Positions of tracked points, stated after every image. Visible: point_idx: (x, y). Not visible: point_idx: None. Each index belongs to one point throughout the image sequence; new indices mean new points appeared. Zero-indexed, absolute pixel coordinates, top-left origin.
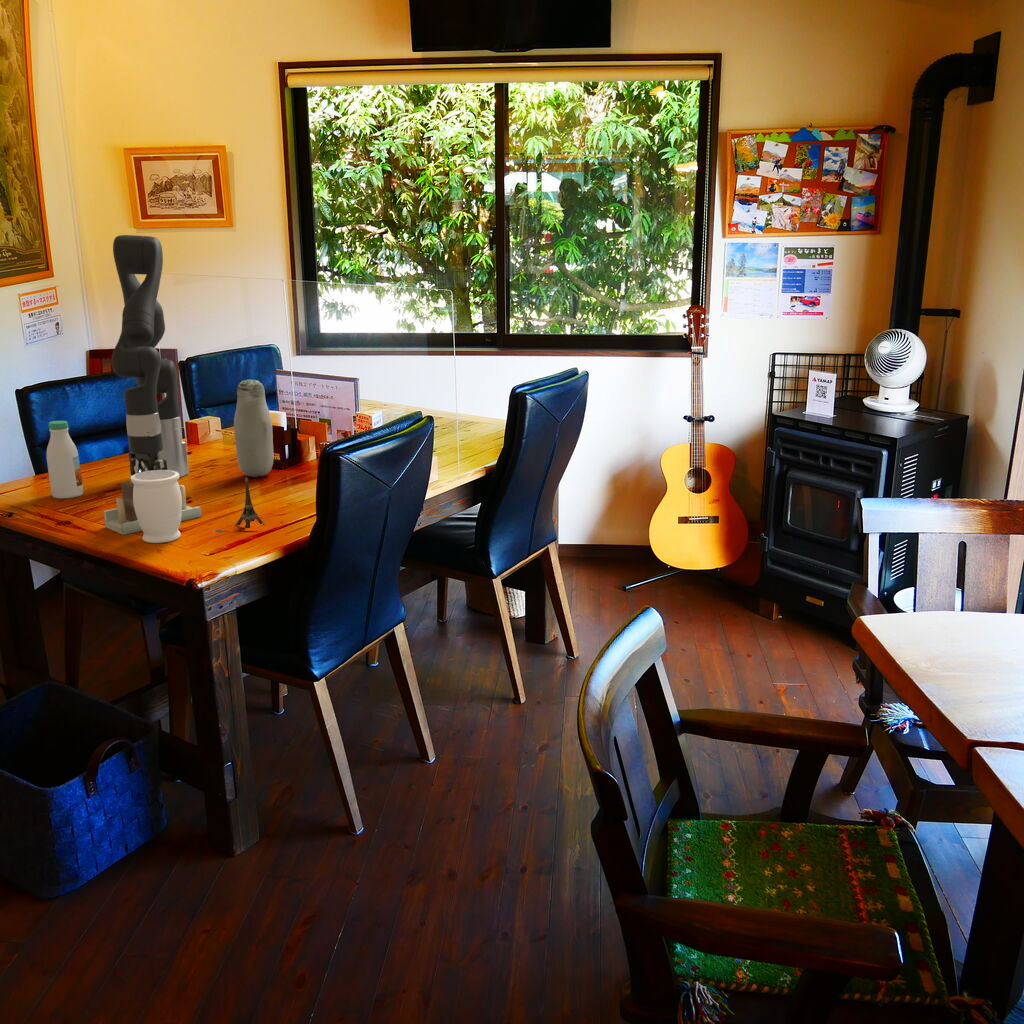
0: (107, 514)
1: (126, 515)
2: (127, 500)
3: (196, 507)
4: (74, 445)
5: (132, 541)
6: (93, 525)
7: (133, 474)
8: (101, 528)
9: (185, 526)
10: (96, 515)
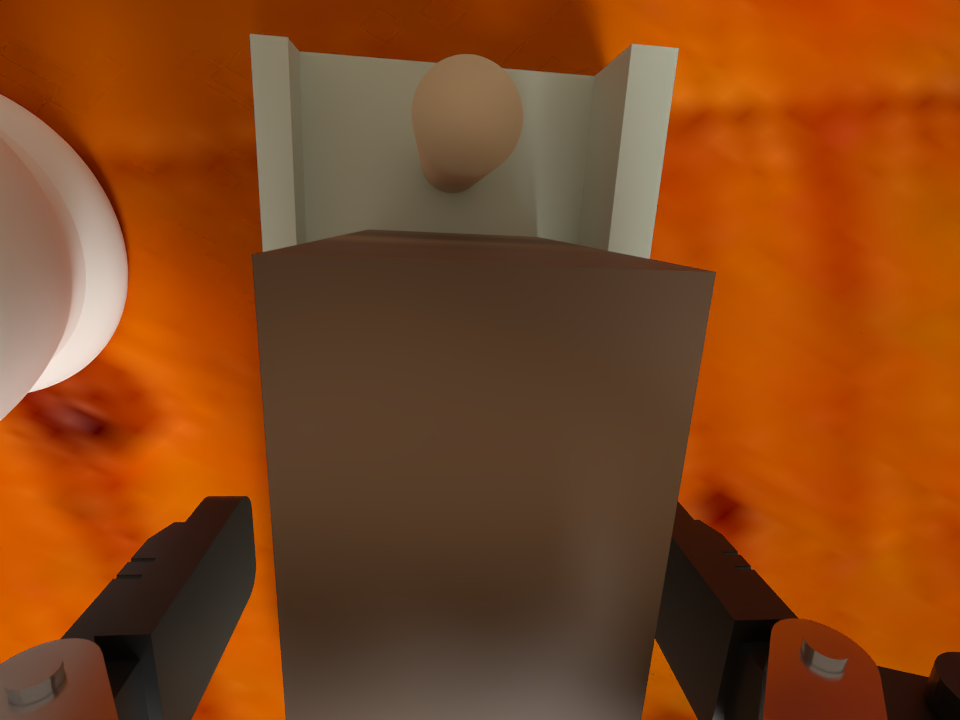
0: (617, 75)
1: (512, 237)
2: (462, 243)
3: None
4: None
5: (34, 12)
6: (735, 49)
7: (939, 692)
8: (607, 47)
9: (163, 509)
10: (935, 218)
